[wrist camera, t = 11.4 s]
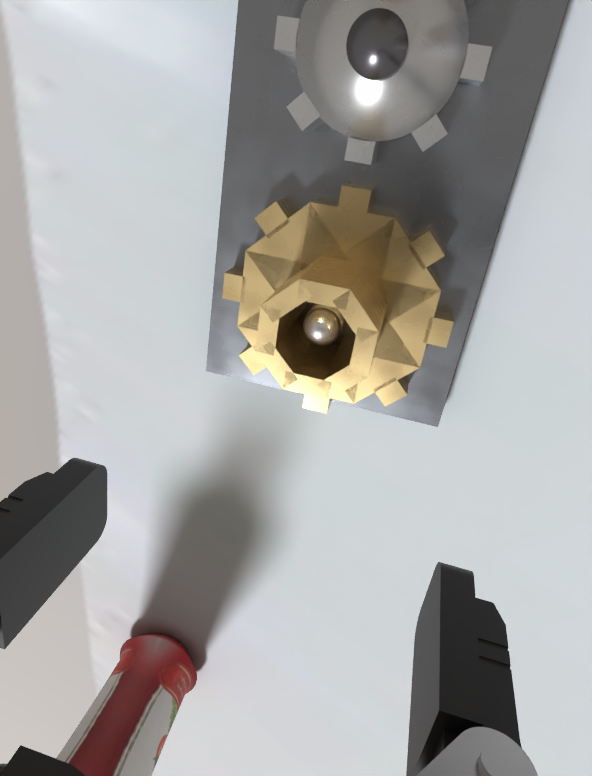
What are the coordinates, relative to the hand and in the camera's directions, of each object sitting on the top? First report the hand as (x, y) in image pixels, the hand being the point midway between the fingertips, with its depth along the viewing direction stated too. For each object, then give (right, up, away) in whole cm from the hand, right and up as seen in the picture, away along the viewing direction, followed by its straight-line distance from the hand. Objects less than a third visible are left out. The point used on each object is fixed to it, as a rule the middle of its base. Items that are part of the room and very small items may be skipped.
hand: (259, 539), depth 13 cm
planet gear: (+3, +8, +17) cm, 19 cm away
